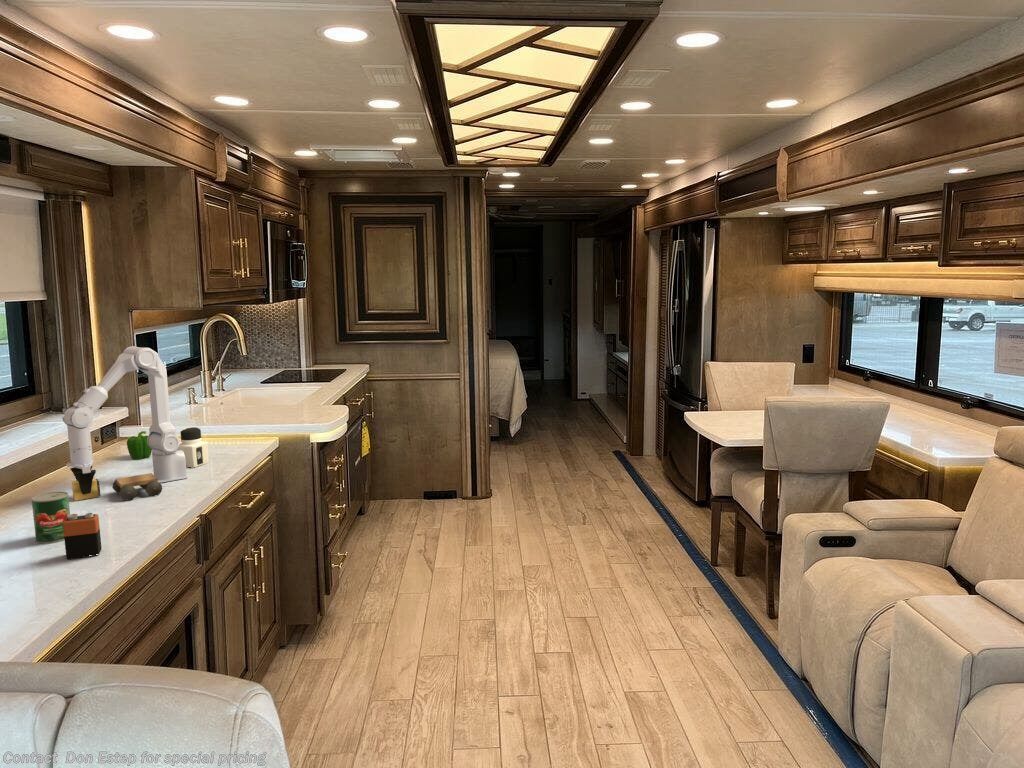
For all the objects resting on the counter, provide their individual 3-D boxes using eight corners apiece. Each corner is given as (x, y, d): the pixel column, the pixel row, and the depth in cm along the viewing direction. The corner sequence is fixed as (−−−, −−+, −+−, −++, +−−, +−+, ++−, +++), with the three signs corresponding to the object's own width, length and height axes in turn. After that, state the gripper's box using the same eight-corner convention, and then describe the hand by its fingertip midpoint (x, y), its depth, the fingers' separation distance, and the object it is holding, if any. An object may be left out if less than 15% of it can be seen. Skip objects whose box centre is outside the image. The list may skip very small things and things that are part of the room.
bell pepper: (122, 460, 264) (120, 433, 263) (140, 454, 272) (137, 428, 270) (141, 461, 262) (138, 434, 260) (158, 456, 269) (156, 429, 268)
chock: (98, 493, 222) (96, 477, 222) (100, 496, 219) (98, 480, 219) (73, 497, 218) (71, 481, 218) (75, 500, 215) (73, 484, 214)
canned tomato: (45, 545, 180) (40, 502, 178) (29, 540, 184) (24, 497, 182) (78, 536, 186) (74, 494, 185) (62, 530, 190) (58, 489, 189)
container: (209, 462, 259) (207, 426, 257) (193, 468, 251) (191, 431, 249) (192, 461, 261) (189, 425, 259) (176, 466, 254) (173, 430, 252)
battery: (69, 553, 174) (65, 513, 173) (102, 549, 177) (98, 509, 175) (66, 560, 170) (61, 518, 169) (99, 555, 173) (95, 515, 171)
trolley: (153, 486, 230) (152, 471, 229) (162, 494, 221) (161, 479, 220) (113, 493, 223) (111, 478, 222) (120, 502, 214) (119, 486, 213)
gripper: (61, 445, 220) (66, 489, 222) (68, 454, 208) (73, 500, 210) (88, 441, 224) (92, 484, 226) (96, 450, 213) (101, 495, 215)
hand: (85, 491), depth 218 cm, fingers closed on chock, 4 cm apart
